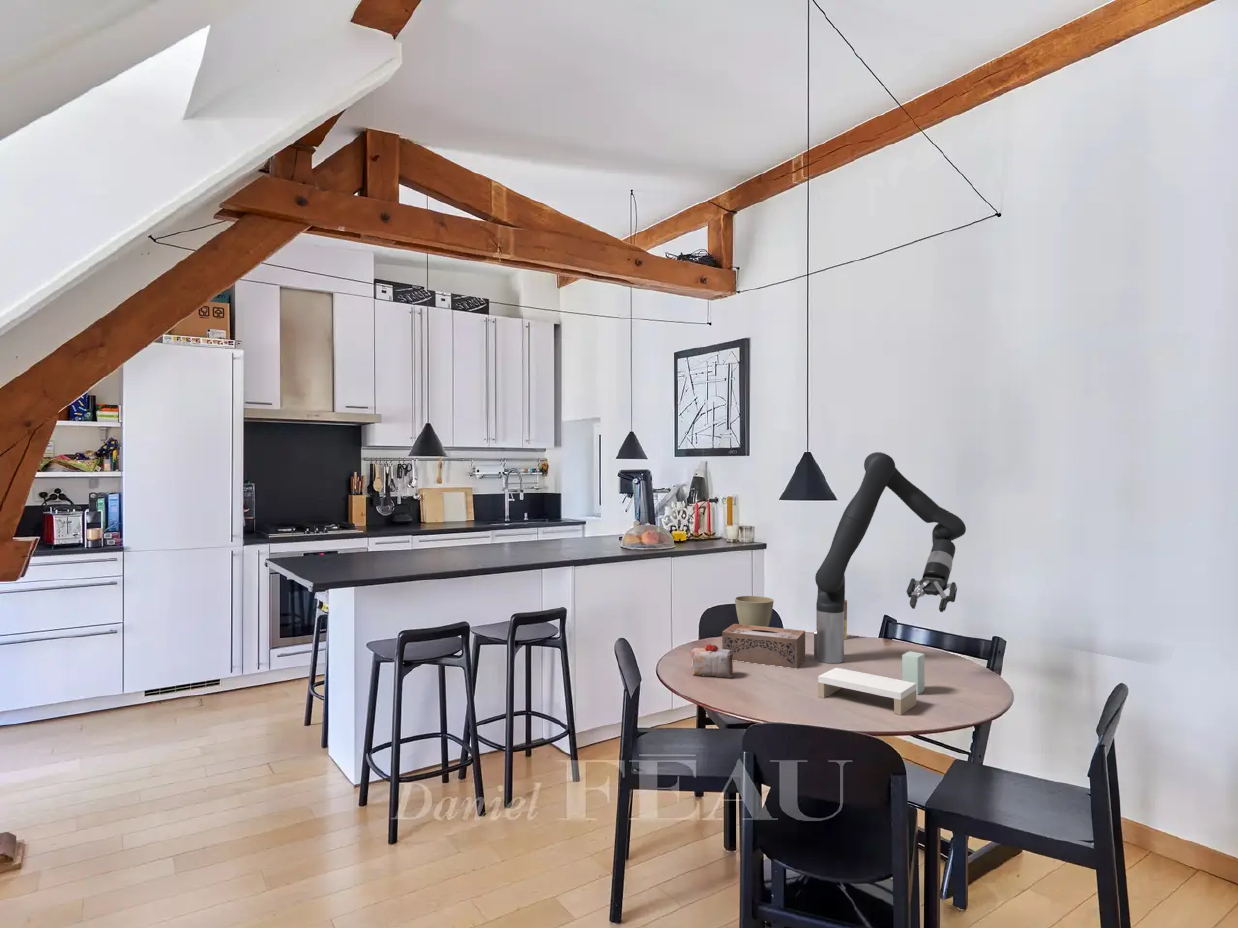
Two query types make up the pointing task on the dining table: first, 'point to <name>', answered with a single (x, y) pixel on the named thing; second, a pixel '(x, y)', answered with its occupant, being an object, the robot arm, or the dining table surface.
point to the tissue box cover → (765, 645)
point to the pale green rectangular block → (914, 669)
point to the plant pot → (754, 610)
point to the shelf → (869, 687)
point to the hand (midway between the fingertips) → (926, 608)
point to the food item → (712, 661)
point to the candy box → (845, 619)
